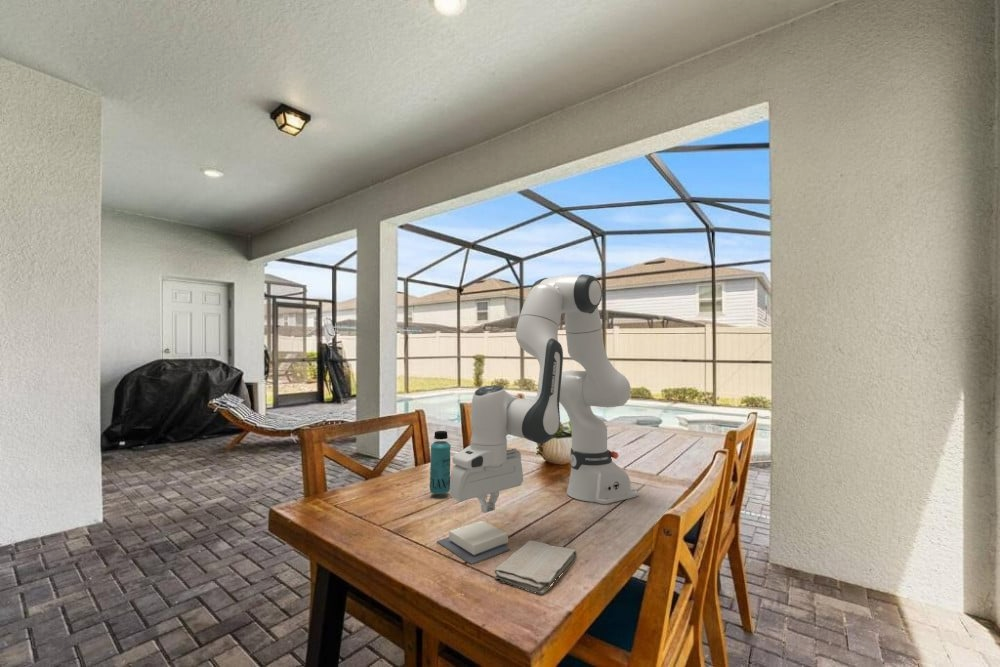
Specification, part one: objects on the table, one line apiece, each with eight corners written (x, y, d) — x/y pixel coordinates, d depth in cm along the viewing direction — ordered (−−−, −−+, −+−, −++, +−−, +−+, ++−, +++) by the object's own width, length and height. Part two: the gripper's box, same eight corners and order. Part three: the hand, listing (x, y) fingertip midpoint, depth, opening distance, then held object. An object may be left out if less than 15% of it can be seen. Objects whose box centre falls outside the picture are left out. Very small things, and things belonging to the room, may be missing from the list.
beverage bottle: (425, 497, 137) (426, 432, 137) (436, 490, 143) (437, 428, 143) (444, 500, 134) (444, 434, 135) (454, 493, 141) (454, 430, 141)
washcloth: (491, 583, 89) (491, 567, 89) (529, 547, 105) (529, 534, 105) (545, 600, 83) (545, 583, 83) (577, 559, 99) (577, 545, 99)
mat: (473, 530, 113) (474, 529, 113) (510, 550, 102) (510, 548, 102) (436, 542, 106) (436, 541, 106) (471, 565, 95) (471, 563, 95)
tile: (482, 520, 112) (449, 530, 106) (508, 533, 105) (473, 545, 98) (482, 530, 112) (448, 541, 106) (507, 544, 105) (473, 557, 98)
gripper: (512, 445, 117) (511, 498, 116) (446, 457, 104) (445, 517, 103) (528, 449, 112) (528, 505, 112) (461, 463, 99) (461, 525, 98)
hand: (488, 511), depth 107 cm, fingers closed
